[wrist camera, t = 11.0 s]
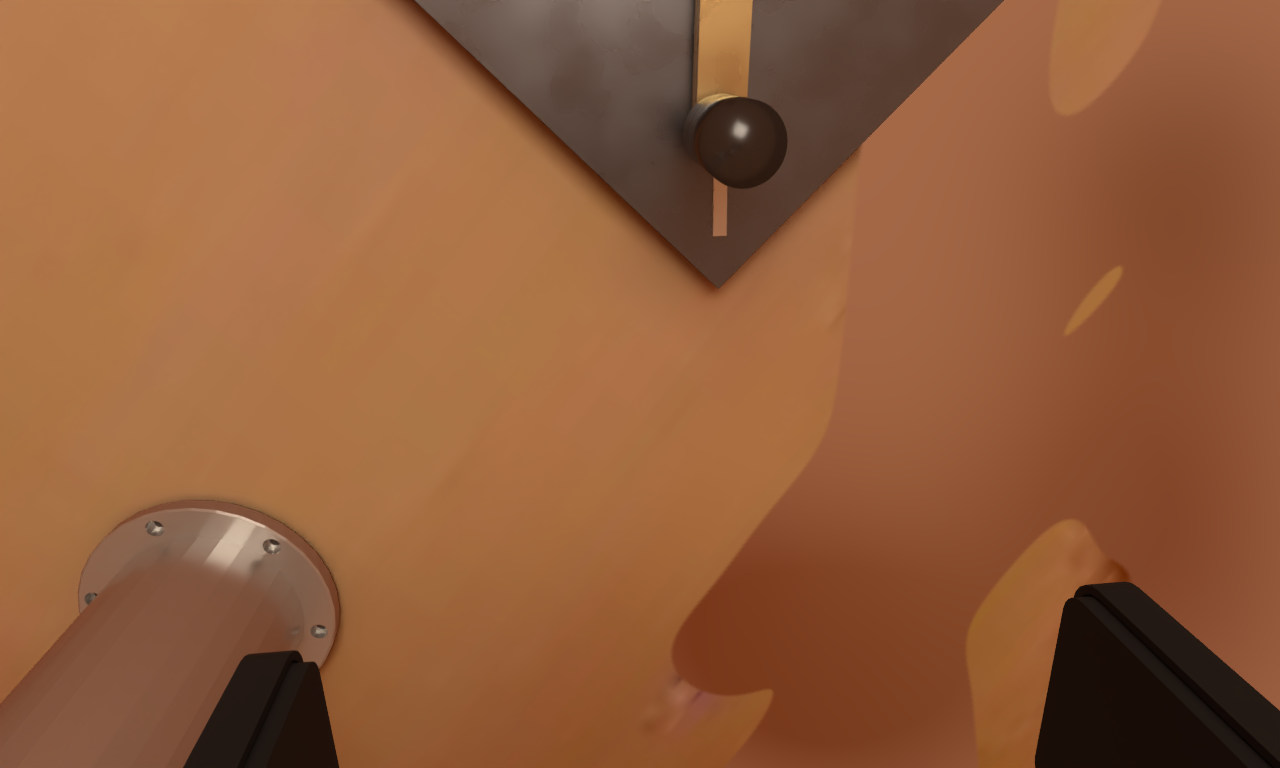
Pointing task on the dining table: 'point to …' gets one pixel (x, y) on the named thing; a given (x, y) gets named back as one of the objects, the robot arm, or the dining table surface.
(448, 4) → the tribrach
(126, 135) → the dining table surface
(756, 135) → the crank dial
